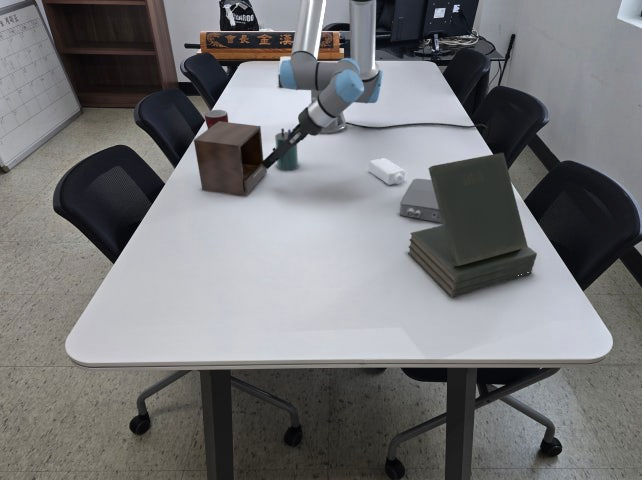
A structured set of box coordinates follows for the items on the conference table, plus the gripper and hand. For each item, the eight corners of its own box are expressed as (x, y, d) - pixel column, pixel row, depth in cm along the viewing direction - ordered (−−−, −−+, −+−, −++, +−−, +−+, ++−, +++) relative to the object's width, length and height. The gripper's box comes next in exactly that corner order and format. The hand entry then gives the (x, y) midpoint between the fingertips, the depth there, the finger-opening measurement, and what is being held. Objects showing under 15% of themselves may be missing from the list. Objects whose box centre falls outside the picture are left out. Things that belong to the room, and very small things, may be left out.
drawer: (268, 172, 160) (267, 160, 158) (248, 193, 149) (247, 180, 146) (228, 166, 163) (227, 154, 161) (206, 187, 152) (204, 174, 149)
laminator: (302, 87, 237) (302, 74, 233) (276, 88, 236) (275, 74, 232) (302, 68, 264) (301, 56, 260) (278, 68, 263) (278, 56, 259)
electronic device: (474, 233, 134) (478, 217, 131) (397, 218, 140) (398, 202, 137) (483, 201, 148) (486, 186, 145) (413, 189, 154) (414, 174, 151)
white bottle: (390, 188, 155) (391, 175, 152) (368, 172, 163) (369, 160, 161) (407, 183, 157) (408, 171, 155) (384, 168, 166) (385, 156, 164)
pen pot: (297, 161, 170) (296, 124, 162) (298, 170, 164) (296, 132, 156) (277, 162, 169) (274, 124, 161) (276, 170, 164) (274, 132, 156)
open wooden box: (264, 174, 162) (260, 126, 152) (244, 196, 149) (238, 145, 140) (225, 168, 164) (219, 121, 155) (202, 189, 152) (193, 139, 142)
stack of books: (450, 298, 112) (469, 200, 97) (407, 253, 126) (418, 161, 111) (531, 275, 119) (560, 180, 104) (481, 234, 134) (501, 146, 118)
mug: (223, 148, 178) (220, 120, 172) (202, 146, 179) (198, 119, 173) (233, 137, 186) (230, 110, 180) (213, 135, 187) (209, 109, 181)
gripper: (314, 98, 141) (264, 147, 154) (299, 113, 131) (247, 164, 144) (332, 119, 143) (281, 165, 156) (318, 135, 133) (265, 183, 146)
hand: (265, 165), depth 150 cm, fingers closed
